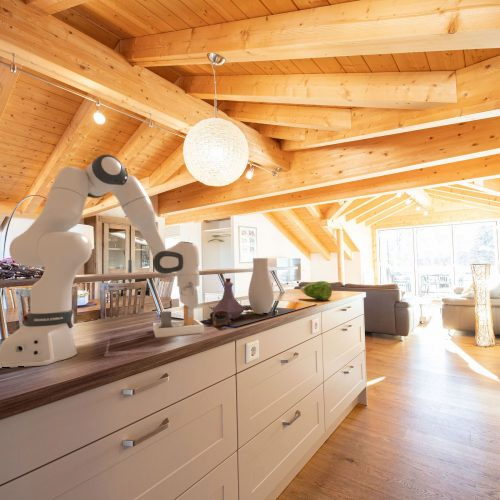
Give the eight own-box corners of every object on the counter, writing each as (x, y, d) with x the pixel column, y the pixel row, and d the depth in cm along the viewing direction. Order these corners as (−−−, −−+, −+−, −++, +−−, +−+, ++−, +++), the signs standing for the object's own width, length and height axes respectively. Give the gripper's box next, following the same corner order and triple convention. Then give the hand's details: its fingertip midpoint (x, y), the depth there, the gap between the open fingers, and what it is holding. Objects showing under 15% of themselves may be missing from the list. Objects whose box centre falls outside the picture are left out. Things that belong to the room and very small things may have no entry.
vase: (243, 314, 175) (242, 258, 176) (259, 311, 185) (258, 258, 186) (263, 316, 166) (262, 257, 167) (279, 313, 176) (278, 257, 177)
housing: (155, 340, 120) (155, 329, 120) (153, 333, 132) (153, 323, 132) (203, 335, 126) (203, 324, 127) (197, 329, 139) (196, 319, 139)
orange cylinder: (194, 325, 130) (194, 305, 130) (184, 326, 129) (184, 306, 129) (192, 324, 134) (192, 304, 134) (182, 324, 132) (182, 305, 133)
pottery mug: (237, 326, 146) (235, 311, 142) (223, 339, 140) (221, 324, 136) (217, 317, 153) (214, 303, 149) (203, 329, 146) (200, 315, 142)
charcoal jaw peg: (161, 334, 125) (161, 313, 125) (160, 332, 129) (160, 311, 129) (172, 333, 127) (171, 312, 127) (170, 331, 130) (170, 311, 131)
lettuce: (306, 297, 246) (306, 280, 246) (334, 299, 230) (334, 280, 231) (295, 299, 235) (295, 281, 236) (324, 301, 220) (324, 282, 220)
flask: (227, 322, 152) (226, 279, 153) (205, 318, 164) (204, 278, 164) (251, 317, 164) (251, 278, 165) (229, 314, 176) (229, 277, 176)
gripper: (201, 283, 123) (202, 319, 123) (191, 280, 142) (191, 312, 142) (184, 283, 121) (185, 321, 120) (176, 280, 140) (177, 313, 140)
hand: (188, 316), depth 131 cm, fingers closed on orange cylinder, 4 cm apart
